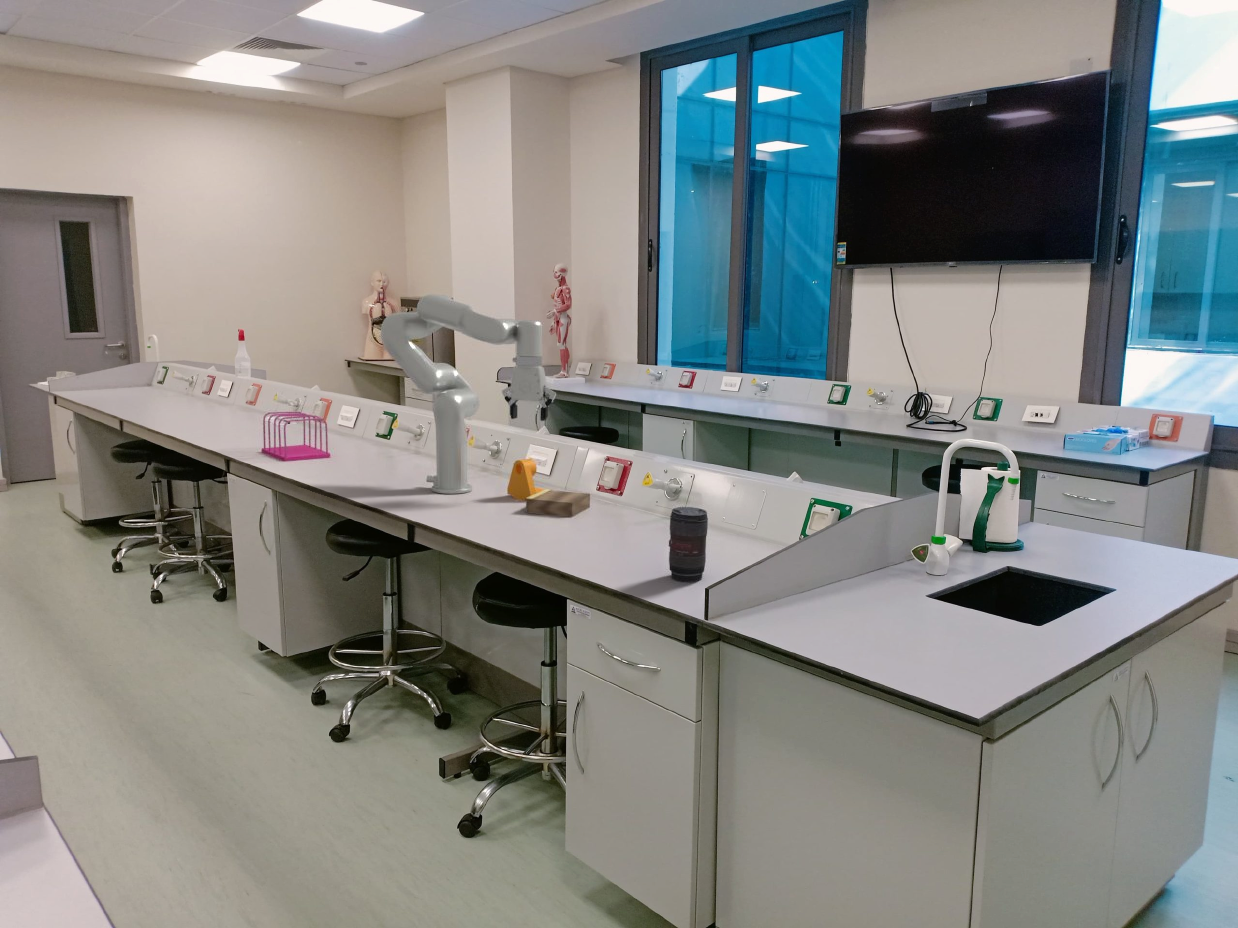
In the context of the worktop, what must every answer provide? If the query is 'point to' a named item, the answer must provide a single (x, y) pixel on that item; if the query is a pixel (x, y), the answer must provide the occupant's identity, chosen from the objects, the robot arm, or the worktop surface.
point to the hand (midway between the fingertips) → (528, 419)
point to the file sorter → (298, 450)
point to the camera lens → (687, 543)
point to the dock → (557, 503)
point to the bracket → (523, 480)
